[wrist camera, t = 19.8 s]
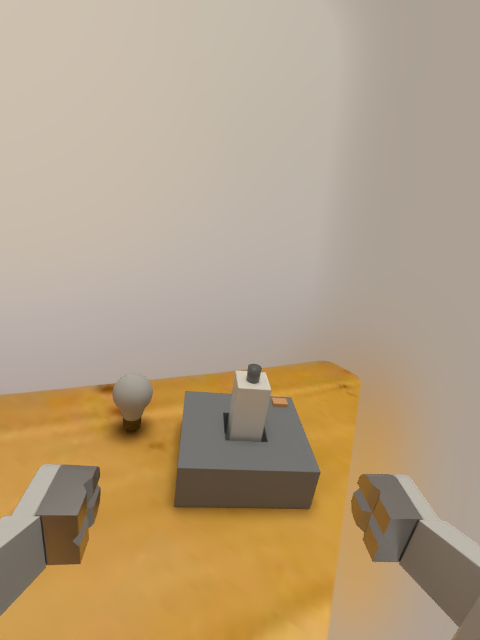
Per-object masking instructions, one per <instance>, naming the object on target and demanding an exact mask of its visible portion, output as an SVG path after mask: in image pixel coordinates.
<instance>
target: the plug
mask: <svg viewBox="0 0 480 640" xmlns="http://www.w3.org/2000/svg"><path fill="white" fill-rule="evenodd" d="M261 369H262V368H261V366H259V365H257V364H250V365H249V366H248V371H235V377H234V384H233V391H232V397H231V404H230V411H229V417H228V424H227V430H226V437H225V438H226V440H228V441H252V442H261V439H262V434H263V429H264V424H265V419H266V414H267V409H268V404H269V399H270V394H271V388H270V385H269V381H268V378H267V375H266V373H263V372H261Z"/></svg>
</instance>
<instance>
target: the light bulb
mask: <svg viewBox="0 0 480 640" xmlns="http://www.w3.org/2000/svg"><path fill="white" fill-rule="evenodd" d="M152 393H153V390H152V385H151V383H150V381H149V380H148V379H147V378H146V377H144V376H143V375H141V374H136V373H131V374H127V375H125V376H123V377H121V378H120V379H119V380H118V381H117V383H116V384H115V386H114V389H113V400H114V402H115V404H116V406H117V407H118V408H119V409H120V410H121V413H122V416H123V421H124V422H123V423H124V428H125V429H127V430H130V431H133V430H136V429H138V428H139V427H140V425H141V416H142V414H143V411H144V409H145V407H146V406H147V405H148V404H149V402H150V401H151V398H152Z"/></svg>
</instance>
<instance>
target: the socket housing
mask: <svg viewBox="0 0 480 640" xmlns="http://www.w3.org/2000/svg"><path fill="white" fill-rule="evenodd" d="M231 397H232V394H223V393H207V392H190V391H185V400H184V410H183V420H182V430H181V439H180V449H179V459H178V469H177V480H176V492H175V503H174V507H231V508H303V509H310V506H311V502H312V499H313V496H314V492H315V489H316V486H317V482H318V479H319V475H320V470H319V467H318V465H317V462H316V460H315V457H314V455H313V452H312V449H311V447H310V444H309V442H308V439H307V437H306V434H305V432H304V429H303V427H302V424H301V422H300V419H299V416H298V414H297V411H296V409H295V406H294V404H293V401H292V399H291V398H288V397H272V396H270V399H269V404H268V409H267V414H266V419H265V424H264V429H263V434H262V439H261V442H252V441H228V440H226V438H225V437H226V430H227V424H228V417H229V411H230V404H231Z"/></svg>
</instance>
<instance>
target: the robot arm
mask: <svg viewBox="0 0 480 640" xmlns="http://www.w3.org/2000/svg"><path fill="white" fill-rule="evenodd" d="M99 478H100V468H99V467H97V466H79V465H55V464H43V465H42V466H41V467H40V468H39V469H38V471H37V473H36V475H35V476H34V478H33V480H32V481H31V483H30V485H29V486H28V488H27V490H26V491H25V493H24V495H23V496H22V498H21V500H20V501H19V503H18V505H17V507H16V508H15V510H14V512H13V513H12V515H11V516H4V517H3V518H1V519H0V616H1V615H2V614H3V613H4V612H5V611H6V610H7V608H8V607H9V606H10V605H11V604H12V603H13V602H14V601H15V600H16V599H17V598H18V597H19V596H20V595H21V594H22V592H23V591H24V590H25V589H26V588H27V587H28V586H29V585H30V584H31V583H32V582H33V581H34V580H35V579H36V578H37V577H38V575H39V574H40V573H41V572H42V571H43V570H44V569H45V568H46V565H66V564H81V561H82V558H83V555H84V552H85V549H86V546H87V543H88V540H89V528H90V527H91V526H92V525H93V524H94V522H95V519H96V516H97V512H98V507H99V503H100V487H99V486H98V485H97V483H98V480H99ZM357 483H358V485H359V487H360V488H359V489H358V490H357V491H356V492H354V494H353V497H352V500H351V505H352V514H353V517H354V520H355V522H356V525H357V526H358V527H359V528H360V529H361V530H362V531H364V537H363V541H364V543H365V545H366V548H367V550H368V552H369V554H370V557H371V559H372V561H374V562H400V563H399V564H400V565H401V566H402V567H403V568H404V569H405V571H406V572H407V573H408V574H409V575H410V576H411V577H412V578H413V579H414V580H415V581H416V582H417V583H418V584H419V585H420V586H421V588H423V590H424V591H425V592H426V593H427V594H428V595H429V596H430V597H431V598H432V599H433V600H434V601H435V602H436V603H437V604H438V606H440V608H441V609H442V610H443V611H444V612H445V613H446V614H447V615H448V616H449V617H450V618H451V619H452V620H453V621H454V623H456V625H457V626H458V627H459V629H458V630H457V632H456V633H455V635H454V636H453V638H452V640H480V546H479V545H478V544H476V543H475V542H474V541H472V540H471V539H469V538H468V537H467V536H465V535H464V534H463V533H461V532H460V531H459V530H457V529H456V528H454V527H453V526H452V525H450V524H449V523H448V522H446V521H445V520H439V518H438V516H437V515H436V514H435V512H434V511H433V509H432V508H431V506H430V505H429V504H428V502H427V501H426V499H425V498H424V496H423V495H422V494H421V492H420V491H419V489H418V488H417V487H416V485H415V484H414V482H413V481H412V479H411V478H410V477H409V476H407V475H388V474H362V475H361V476H360V477H359V480H358V482H357Z"/></svg>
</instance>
